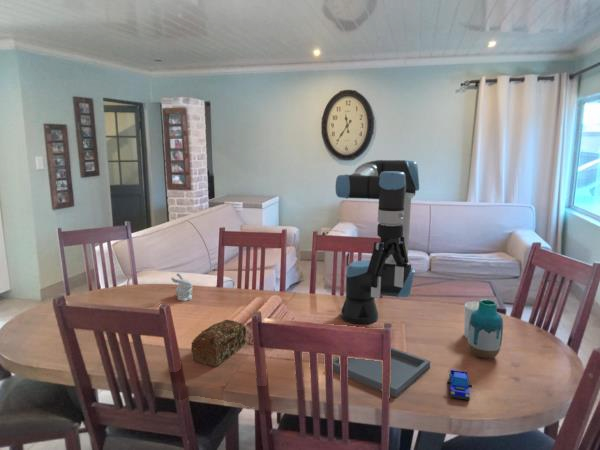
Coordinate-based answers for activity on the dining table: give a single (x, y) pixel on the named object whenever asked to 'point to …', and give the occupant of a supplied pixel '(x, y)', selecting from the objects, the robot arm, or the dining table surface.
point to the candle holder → (469, 315)
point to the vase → (485, 330)
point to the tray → (402, 371)
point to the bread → (218, 342)
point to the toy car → (459, 385)
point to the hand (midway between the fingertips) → (387, 291)
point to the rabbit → (183, 288)
